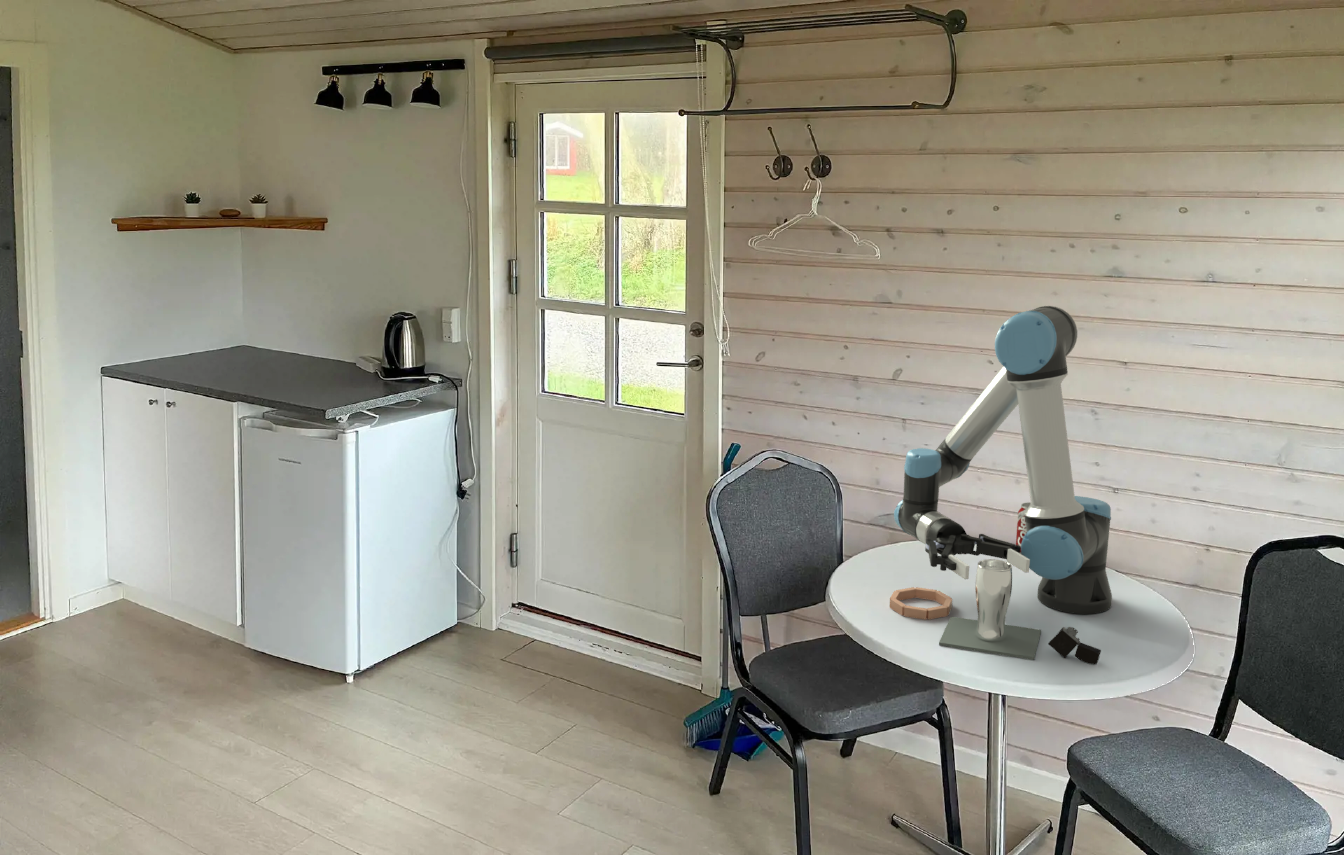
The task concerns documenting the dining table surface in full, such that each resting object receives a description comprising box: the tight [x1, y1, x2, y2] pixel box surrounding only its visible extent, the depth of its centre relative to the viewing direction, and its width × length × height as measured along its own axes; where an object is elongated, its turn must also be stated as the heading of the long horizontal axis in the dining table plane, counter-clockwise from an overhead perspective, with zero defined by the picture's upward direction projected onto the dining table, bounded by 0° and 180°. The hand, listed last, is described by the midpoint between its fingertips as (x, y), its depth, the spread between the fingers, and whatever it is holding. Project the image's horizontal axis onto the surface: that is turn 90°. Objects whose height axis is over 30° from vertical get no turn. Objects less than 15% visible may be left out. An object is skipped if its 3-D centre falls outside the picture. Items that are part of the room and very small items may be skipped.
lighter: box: [1047, 626, 1102, 665], centre depth 220 cm, size 9×2×6 cm
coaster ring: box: [889, 586, 953, 621], centre depth 245 cm, size 12×12×2 cm
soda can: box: [1015, 502, 1031, 554], centre depth 276 cm, size 7×7×12 cm
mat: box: [938, 616, 1042, 661], centre depth 229 cm, size 18×14×1 cm
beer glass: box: [974, 558, 1013, 642], centre depth 227 cm, size 7×7×15 cm
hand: (997, 569), depth 223 cm, fingers open, 13 cm apart
